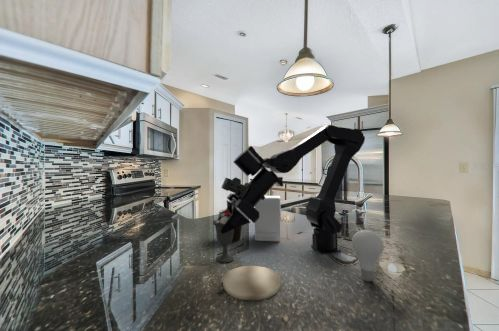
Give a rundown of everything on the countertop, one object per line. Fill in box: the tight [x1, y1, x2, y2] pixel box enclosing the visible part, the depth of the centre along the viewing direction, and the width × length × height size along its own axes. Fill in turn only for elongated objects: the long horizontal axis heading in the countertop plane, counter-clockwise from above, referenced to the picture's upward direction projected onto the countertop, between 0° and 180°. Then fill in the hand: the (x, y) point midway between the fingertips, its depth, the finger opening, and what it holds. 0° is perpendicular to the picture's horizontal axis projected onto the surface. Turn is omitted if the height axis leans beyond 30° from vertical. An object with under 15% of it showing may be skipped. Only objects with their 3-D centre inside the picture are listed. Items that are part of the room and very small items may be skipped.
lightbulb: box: [351, 229, 384, 282], centre depth 47 cm, size 6×6×11 cm
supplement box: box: [254, 195, 282, 243], centre depth 79 cm, size 9×9×15 cm
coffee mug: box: [218, 208, 243, 243], centre depth 78 cm, size 12×9×10 cm
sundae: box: [212, 204, 235, 263], centre depth 59 cm, size 7×7×15 cm
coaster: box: [222, 265, 281, 301], centre depth 46 cm, size 12×12×1 cm
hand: (220, 229), depth 59 cm, fingers closed on sundae, 6 cm apart
